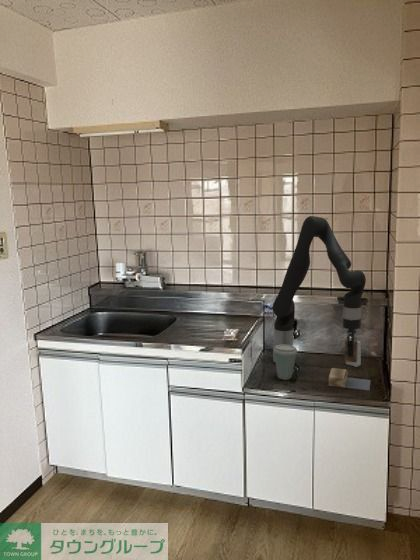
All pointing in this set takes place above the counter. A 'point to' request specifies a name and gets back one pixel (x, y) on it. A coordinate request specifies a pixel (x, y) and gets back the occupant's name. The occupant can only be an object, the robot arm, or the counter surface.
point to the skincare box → (357, 357)
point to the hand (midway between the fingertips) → (350, 354)
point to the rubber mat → (358, 384)
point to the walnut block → (354, 358)
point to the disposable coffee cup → (285, 360)
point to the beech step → (338, 377)
